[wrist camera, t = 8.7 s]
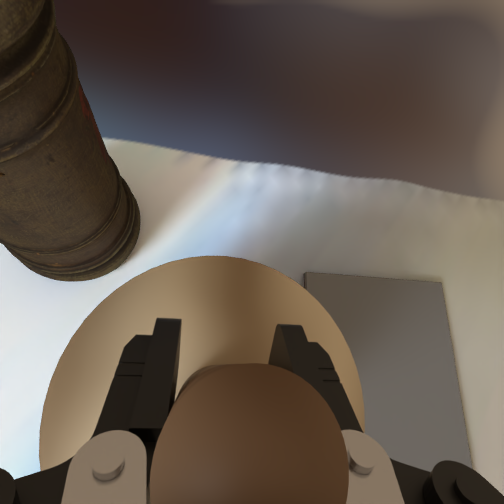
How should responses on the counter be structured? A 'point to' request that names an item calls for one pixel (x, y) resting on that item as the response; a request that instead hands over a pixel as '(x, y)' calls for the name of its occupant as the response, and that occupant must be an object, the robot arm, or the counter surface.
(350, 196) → the counter surface
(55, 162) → the container
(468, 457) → the mat
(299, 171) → the counter surface
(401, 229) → the counter surface
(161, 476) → the lid
